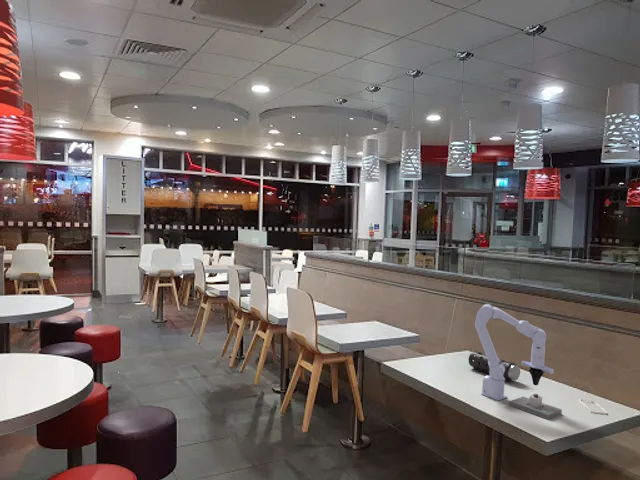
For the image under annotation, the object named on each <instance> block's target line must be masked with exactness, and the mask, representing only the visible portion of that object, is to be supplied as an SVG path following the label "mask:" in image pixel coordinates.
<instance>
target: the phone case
mask: <svg viewBox="0 0 640 480" xmlns="http://www.w3.org/2000/svg"><path fill="white" fill-rule="evenodd" d="M583 401H584V402H585V401H586V402H590V400H589V399H578V403H580V404H581V405H582V406H583V407H584V408H586V409H587V411H588V412H589V413H591V414H600V415H606V414H607V415H608V411H606V409H605V408H603V407H602V406H601V405H600V404H599V403H598V402H596V400H591V403H592V404H595V405H596V406H598V408H599V407H600V408H599V409H601V410H602V411H599V410H598V411H596V410H591V409H590V408H589V407H588V406H587V405H586V404H585V403H584V402H583Z"/></svg>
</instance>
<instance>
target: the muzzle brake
mask: <svg viewBox="0 0 640 480" xmlns="http://www.w3.org/2000/svg"><path fill="white" fill-rule="evenodd" d="M499 359H500V361H501V363H502V364H503V365H504V366H505V372H504V374H503V376H504V378H505V379H506V380H507V381H511V382H512V381H513V382H516V381H517V380H519V378H520V375H521V367H520V366H519V365H517V364H516V363H514V362H512V361H506V360H504V359H501V358H499ZM468 365H469V366H470V367H472V368H473V369H474V370H477V371H479V370H480V372H482V371H483V372H482V373H485V374H489V371H490V368H489V365H488V359H487V357H486V354H485V353H482V352H478V351H475V350H474V351H472V352H471V353H470V354H469V356H468ZM506 380H505V381H506Z"/></svg>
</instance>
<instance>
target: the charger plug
mask: <svg viewBox="0 0 640 480" xmlns="http://www.w3.org/2000/svg"><path fill="white" fill-rule="evenodd" d="M528 398H529V406H532V407H535V408H538V409H539V408H542V403H543V396H540V395H539V394H538V393H533V394H532V395H530V396H529V397H528Z"/></svg>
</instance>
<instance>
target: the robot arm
mask: <svg viewBox="0 0 640 480" xmlns="http://www.w3.org/2000/svg"><path fill="white" fill-rule="evenodd" d="M491 318H492V319H500V320H502V321H504V322H505V323H508V324H510V325H511V326H513V327H515V329H516V331H517V332H519V333H520V334H523V335H524V336H526V337H528V338H530V339H532V345H531V353H530V361H526V360H521V362H520V363H521V364H520V366H522V367H528V368H529V369H528V372H529V374H530V376H531V380H532V385H533V386H538V385H539V383H540V380H541V378H542V377H543V375H544V373H549V374H550V375H552V374H554V371H555V370H554V368H551V367H549V366H546V365H545V360H546V359H545V358H546V356H545V355H546V341H547V333H546V331H545V330H544V329H542V328H539V327H538V326H535V325H532V324H531V323H530V321H528V320H524V319H522V320H518V319H517V318H515V317H514V316H512V315H510V314H509V313H508V312H505V311H504V310H502V309H500V308H499V307H496V306H493V305H492V304H490V303H485V304H483V305H482V306H481V307H479V309H478V311H477V313H476V316H475V321H474V327H475V330H476V332H477V335H478V337H479V340H480V344H481V346H482V349H483V350H484V351H483V352H484V354H486V357H487V359H488V365H489V368H490V371H489V373H488V374H489V375H484V377H483V379H482V389H481V393H480V394H481V395H483V396H485V397H488V398H491V399H494V400H496V401H500V400H503V399H507V398H508V396H507V395H505V381H506V380H505V378H504V376H503V374H504V372H505V366H504V365H503V364H502V363H501V361H500V359H501V358H499V356H498V353H497V352H496V349H495V347H494V342H493V341H492V338H491V336H490V333H489V331H488V329H487V328H488V327H487V323H488V322H489V320H490V319H491Z"/></svg>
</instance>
